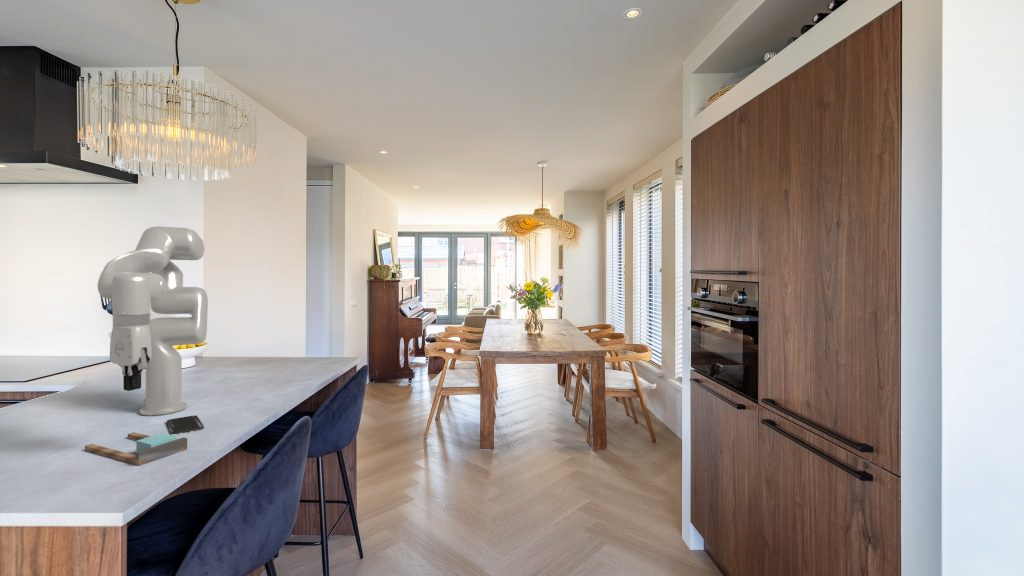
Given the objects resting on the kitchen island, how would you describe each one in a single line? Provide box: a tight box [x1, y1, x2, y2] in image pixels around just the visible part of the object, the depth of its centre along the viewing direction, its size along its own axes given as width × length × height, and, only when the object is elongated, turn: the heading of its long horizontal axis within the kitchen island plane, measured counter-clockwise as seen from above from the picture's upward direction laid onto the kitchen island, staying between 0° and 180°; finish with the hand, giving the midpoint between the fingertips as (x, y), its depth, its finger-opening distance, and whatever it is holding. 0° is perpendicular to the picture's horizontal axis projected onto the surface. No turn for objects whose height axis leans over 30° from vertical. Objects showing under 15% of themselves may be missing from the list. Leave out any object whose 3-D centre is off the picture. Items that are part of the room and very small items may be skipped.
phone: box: [166, 414, 205, 435], centre depth 134 cm, size 8×1×15 cm
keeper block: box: [135, 432, 178, 453], centre depth 113 cm, size 6×6×4 cm
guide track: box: [84, 432, 188, 467], centre depth 115 cm, size 23×11×3 cm, turn 69°
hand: (132, 389), depth 116 cm, fingers closed
